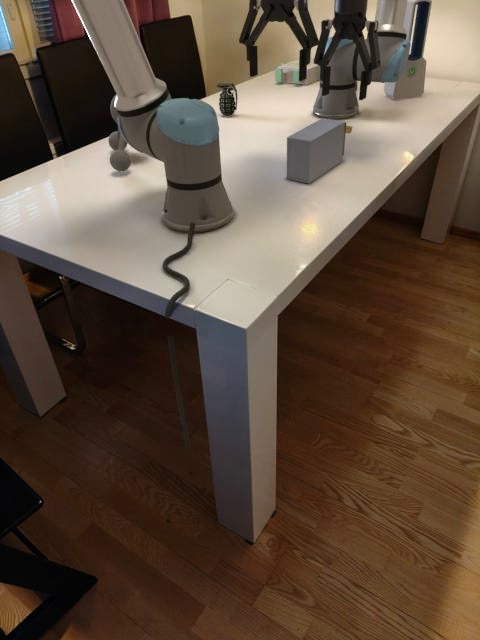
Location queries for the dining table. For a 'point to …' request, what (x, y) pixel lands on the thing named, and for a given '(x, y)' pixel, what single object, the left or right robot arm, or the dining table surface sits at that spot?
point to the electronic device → (413, 53)
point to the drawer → (346, 130)
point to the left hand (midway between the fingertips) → (277, 77)
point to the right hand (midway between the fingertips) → (343, 96)
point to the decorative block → (297, 72)
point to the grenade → (227, 99)
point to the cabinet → (314, 150)
